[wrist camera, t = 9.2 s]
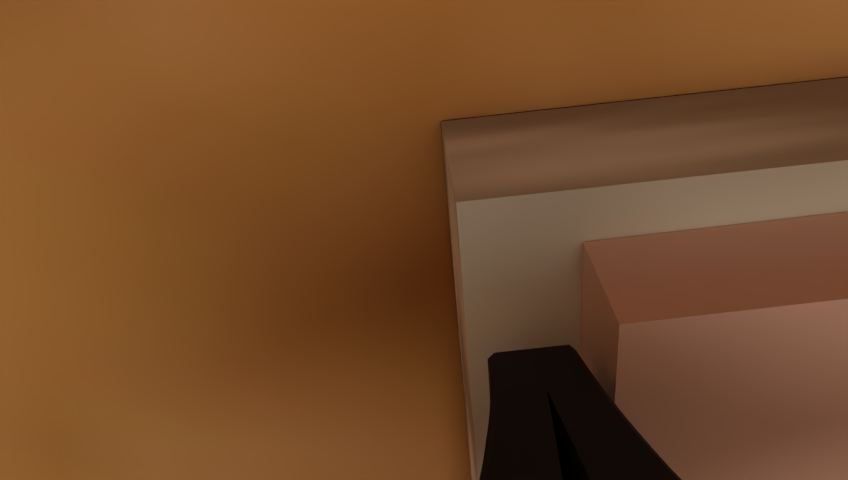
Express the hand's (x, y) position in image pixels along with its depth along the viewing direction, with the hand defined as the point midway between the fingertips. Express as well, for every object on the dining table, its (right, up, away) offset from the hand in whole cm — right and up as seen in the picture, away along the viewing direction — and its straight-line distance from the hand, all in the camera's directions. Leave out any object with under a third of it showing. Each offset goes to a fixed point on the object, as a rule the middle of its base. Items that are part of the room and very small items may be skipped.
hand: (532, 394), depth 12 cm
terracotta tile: (+3, +1, +1) cm, 3 cm away
